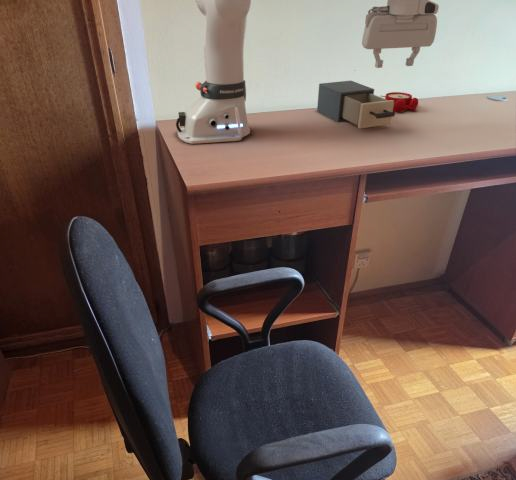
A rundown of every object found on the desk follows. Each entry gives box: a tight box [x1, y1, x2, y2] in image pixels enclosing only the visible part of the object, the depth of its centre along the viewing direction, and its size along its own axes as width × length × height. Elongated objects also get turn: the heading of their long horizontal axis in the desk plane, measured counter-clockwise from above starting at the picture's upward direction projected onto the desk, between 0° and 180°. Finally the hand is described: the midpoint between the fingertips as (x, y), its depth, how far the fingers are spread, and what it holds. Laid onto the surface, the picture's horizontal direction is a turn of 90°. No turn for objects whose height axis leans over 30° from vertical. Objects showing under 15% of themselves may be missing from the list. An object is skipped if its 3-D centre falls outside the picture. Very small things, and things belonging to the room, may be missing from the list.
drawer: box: [340, 93, 396, 129], centre depth 142 cm, size 18×11×7 cm, turn 23°
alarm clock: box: [381, 91, 419, 114], centre depth 159 cm, size 10×6×15 cm
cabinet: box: [316, 80, 375, 123], centre depth 153 cm, size 15×13×9 cm
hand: (393, 66), depth 127 cm, fingers open, 8 cm apart
